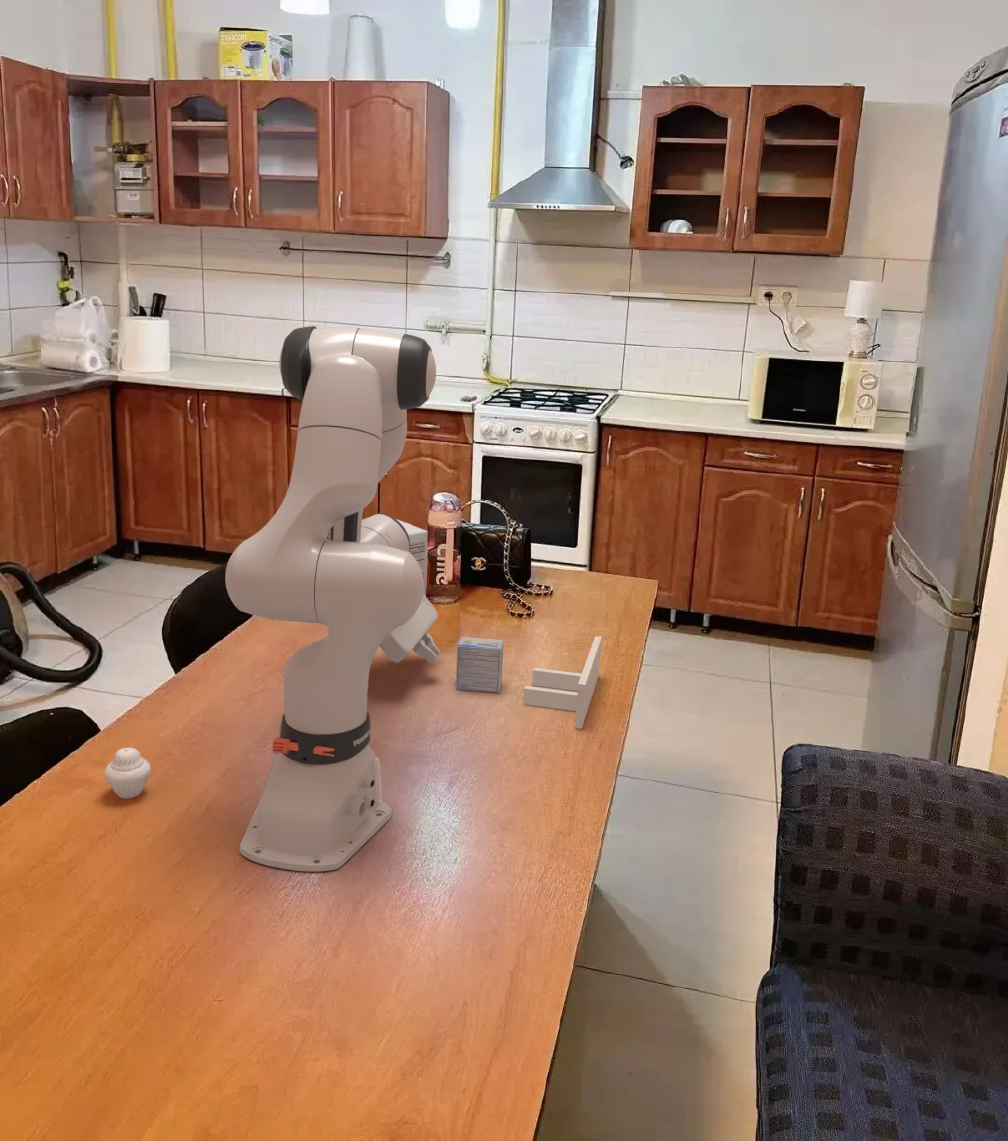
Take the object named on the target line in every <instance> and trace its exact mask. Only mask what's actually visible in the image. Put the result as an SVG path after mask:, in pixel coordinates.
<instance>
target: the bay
mask: <svg viewBox="0 0 1008 1141" xmlns="http://www.w3.org/2000/svg"><path fill="white" fill-rule="evenodd" d="M602 639H603V637H602V636H597V635H595V636H594V639H593V642H592V645H591V647H590V650H589V653H588V655H587V658H586V661H585V664H584V667H583V670H582V673H579V672H572V671H571V672H570V671H563V670H556V669H547V668H540V667H533V669H532V676H531V677H532V678H531V686H530V685H524V688H523V696H522V697H523V699H522V700H523V701H522V702H523V703H522V704H523V705H526V706H533V707H541V708H548V709H549V708H550V709H555V710H556V709H557V710H563V711H569V712H571V711H572V712H575V720H574V722H575V724H574V729H577V730H578V729H581V730H582V729H583V727H584V724H585V720H586V717H587V715H588V711H589V708H590V705H591V702H592V699H593V697H594V693H595V690H596V687H597V684H598V680H599V678H600V676H599V675H600V662H601V654H602V653H601V650H602Z"/></svg>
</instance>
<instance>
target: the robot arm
mask: <svg viewBox="0 0 1008 1141" xmlns="http://www.w3.org/2000/svg"><path fill="white" fill-rule="evenodd" d="M278 363H279V364H278V366H279V372H280V376H281V381H282V385H283V388H284V389H285V391H287V392H288V393H289V394H290V395H291V396H292V397H293V398H296V399H297V400H300V401H301V402H302V403H301V408H300V413H299V419H298V426H297V427H298V428H297V435H296V443H295V453H294V458H293V459H294V460H293V465H292V471H291V475H290V480H289V484H288V488H287V492H286V494H285V496H284V499H283V501H282V503H281V504H280V506H279V507H278V509H277V511H276V513H275V514H273V516H272V517H271V519H270V520H269V521H268V522H267V523H266V524H265V525H264V526H263V527H262V528H261V529H260V530H259V531H258V532H256V533H255V534H253V535H252V536H250V537H249V538H247V539H245V540H244V541H242V542H241V543H240V544H239V545H238V546H237V547H236V548H235V549H234V551H233V552H232V554H231V555H230V557H229V559H228V561H227V565H226V567H225V576H224V577H225V579H224V581H225V587H226V590H227V594H228V597H229V598H230V601H231V602H232V603H233V605H234V606H235V608H236V609H237V610H239V611H240V612H244V613H247V614H249V615H253V616H256V617H259V618H260V617H261V618H264V619H267V620H271V621H282V622H283V621H285V622H294V623H297V622H299V623H312V624H320V625H324V626H326V627H327V631H328V632H327V636H325V637H323V638H321V639H319V640H316V641H313V642H311V643H309V644H307V645H304V646H303V647H301V648H300V649H297V650H296V651H295V652H294V653H293V654H292V655H291V656H290V657H289V659H288V660H287V662H286V664H285V667H284V669H283V670H284V671H283V690H284V691H283V692H284V693H283V694H284V713H283V715H282V717H281V724H280V725H279V726H280V727H279V733H278V735H279V737H278V736H276V737H274V739H273V741H272V746H271V749H272V752H273V753H275V757H274V760H273V762H272V764H271V767H270V771H269V773H268V776H267V779H266V782H265V784H264V785H265V786H264V788H263V791H262V794H261V796H260V799H259V801H258V804H257V806H256V809H255V811H254V812H253V815H252V817H251V819H250V822H249V824H248V825H247V828H246V830H245V831H244V832H245V833H244V835H243V837H242V838H241V841H240V844H239V853H240V854H241V855H242V856H243V857H245V858H246V859H248V860H251V861H253V862H255V863H257V864H261V865H265V866H268V867H271V868H273V867H274V868H278V869H282V870H290V871H298V872H299V871H300V872H311V873H312V872H327V871H333V870H337V869H339V868H341V867H343V865H344V864H346V862H348V861H349V859H350V858H352V857H353V856H354V855H355V854H356V853H357V852H358V850H360V849H361V848H362V847H363V846H364V845H365V844H366V843H367V842H368V841H369V840H371V838H372V837H373V836H374V835H375V834H376V833H377V832H378V831H379V830H380V829H381V828H382V827H383V826H384V825H385V824H386V823H387V822H388V821H389V820H390V819H391V818H392V817H393V815H392V814H393V813H392V812H393V811H392V807H390V806H389V805H388V804H387V803H385V802H384V801H383V795H382V794H383V792H382V778H381V777H382V774H381V763H380V762H381V761H380V759H379V757H377V755H376V754H375V752H374V751H373V749H372V747H371V745H370V741H371V731H372V723H371V716H370V712H369V711H368V688H369V679H370V669H371V665H372V662H373V659H374V658H375V655H376V652H377V650H378V649H379V648H380V649H381V651H382V652H383V653H384V654H385V656H386V657H387V658H388V659H389V660H390V661H391V662H393V663H395V664H399V663H400V662H401V661H402V660H404V659H405V658H406V657H407V656H409V655H410V654H411V652H412V651H413V652H414V653H415V654H417V655H418V656H421V657H423V658H424V659H425V660H426V661H427V662H428V663H429V664H432V663H434V662H435V661H437V659H438V657H439V656H440V655H441V650H440V649H439V648H438V647H437V646H436V644H435V642H434V639H433V637H432V635H431V634H430V632H428V631H429V630H430V628H431V627H432V626H433V625H434V623H435V622H436V620H437V619H438V618H439V614H438V611H437V609H436V607H435V606H434V605H433V604H432V602H431V601H430V599H428V598H427V595H426V596H425V595H424V594H423V593H424V579H423V574H422V571H421V568H420V566H419V564H418V562H417V561H416V559H415V558H414V557H413V555H412V554H411V553H410V552H409V550H410V539H409V536H408V533H407V531H406V530H405V528H404V527H403V525H402V524H401V523H400V522H399V521H398V520H399V519H397V518H395V517H393V516H391V515H389V514H385V513H375V514H373V515H371V516H369V517H366V518H363V514H364V509H365V508H366V507H367V506H368V505H369V504H370V503H371V502H372V501H373V500H374V498H375V496H376V493H377V490H378V484H380V482H381V481H382V479H383V478H384V477H385V476H386V475H387V473H388V472H389V471H390V470H391V469H392V468H393V467H394V465H395V464H396V463H397V462H398V460H399V459H400V458H401V456H402V454H403V451H404V447H405V443H406V440H407V433H408V420H407V419H408V418H407V417H408V416H407V414H408V412H407V410H412V409H417V408H420V407H421V406H422V405H424V404H425V403H426V402H428V400H429V399H430V395H431V393H432V392H433V389H434V387H435V383H436V378H437V365H436V361H435V356H434V354H433V351H432V347H431V345H429V344H428V342H427V341H426V340H425V339H424V338H421V337H420V336H416V335H412V334H407V333H404V334H403V335H402V334H401V335H400V334H396V333H392V332H391V333H390V332H385V331H379V330H371V329H361V328H360V327H353V326H352V327H349V326H348V327H347V326H345V327H344V326H343V327H342V326H341V327H340V326H339V327H338V326H336V327H335V326H334V327H332V326H331V327H320V328H319V327H317V326H315V325H313V326H311V325H309V326H304V327H297V328H295V329H293V330H292V331H291V332H289V334H287V336H286V337H285V339H284V341H283V343H282V348H281V351H280V355H279V362H278ZM396 519H397V520H396Z"/></svg>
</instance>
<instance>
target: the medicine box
mask: <svg viewBox="0 0 1008 1141" xmlns="http://www.w3.org/2000/svg"><path fill="white" fill-rule="evenodd" d="M504 643H505V642H504V640H503V639H493V638H481V637H470V636H469V637H468V636H461V637H460V638H459V641H458V643H457V646H456V669H455V670H456V674H455V675H456V676H455V677H456V678H455V690H461V691H462V690H463V691H472V692H473V691H474V692H475V691H476V692H485V693H495V694H497V693H498V694H499V693H500V692H501V686H502V682H503V666H504V665H503V664H504V663H503V660H504Z"/></svg>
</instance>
